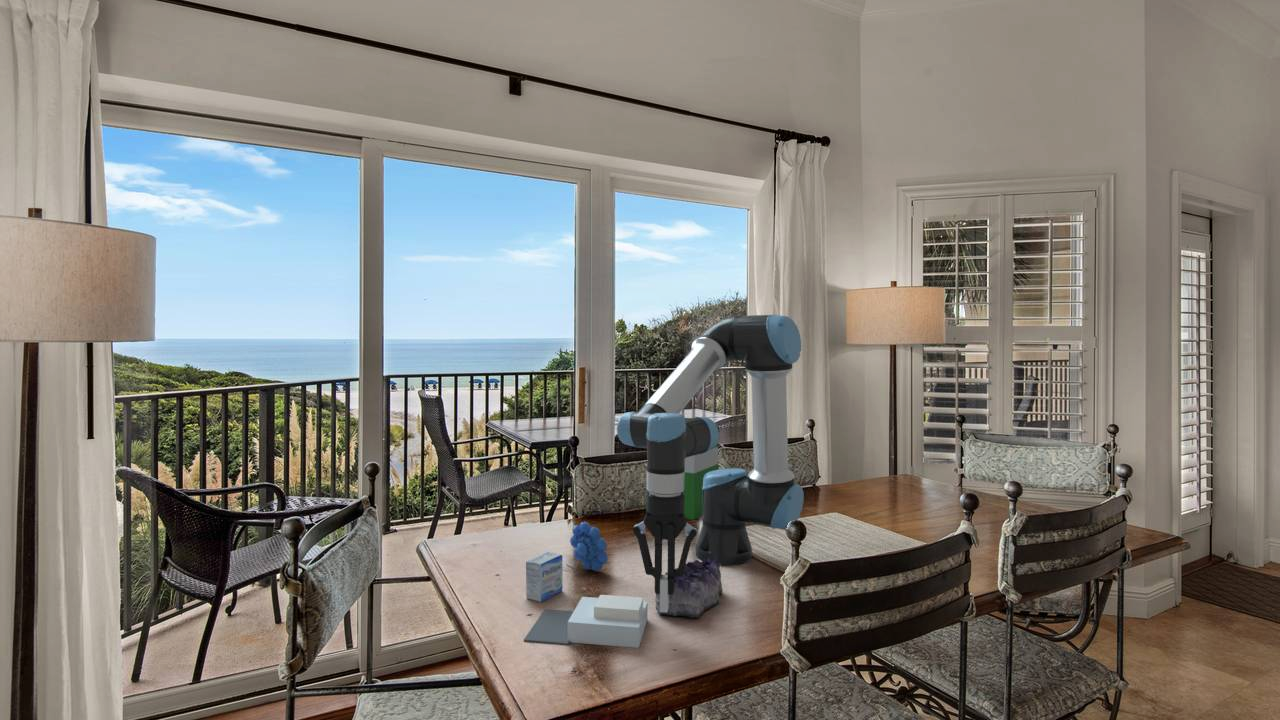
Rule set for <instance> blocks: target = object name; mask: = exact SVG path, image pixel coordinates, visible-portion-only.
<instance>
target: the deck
mask: <svg viewBox="0 0 1280 720" xmlns="http://www.w3.org/2000/svg"><path fill="white" fill-rule="evenodd" d="M598 598H599V597H591V596H581V598H580V600H579V601H578V603H577V605H576V607H575V609H574V610H573V611H574V612H573V614H572V615H571V617H570V619H569V620H568V641H570V643H573V644H584V645H585V644H587V645H598V646H610V647H612V646H613V647H623V648H634V649H639V648H640V645H641V642H642V639H643V635H644V633H645V628H646V626H647V622H648V608H649V607H648V605H649V604H648V600H647V601H646V600H643V609H642V612H641V615H640V618H639V620H628V619H615V618H602V617H594V606H595V604H596V602H597V600H598Z"/></svg>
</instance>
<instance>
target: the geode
mask: <svg viewBox="0 0 1280 720" xmlns="http://www.w3.org/2000/svg"><path fill="white" fill-rule="evenodd" d="M720 568H721V564H720V562H719V560H718V559H717V558H716V559H715V560H714V559H713V558H711V557H710V558H709V559H707V560H706V561H703V560H702V561H700V560H698V559H696V560H694V561H688V562H686V564H685V568H684V572H683V575H682V576H681V577H676V578H675V579H674V593H673V595H669V608H668V612H667V613H665V612H660V594H656V593H655V599H654V601H655V607H654V608H655V610H656V611H657V613H658V615H659V616H663V615H666V616H675V617H677V616H678V617H679V616H681V617H686V618H687V617H688V618H691V619H692V618H695V619H699V617H701V616H702V615H703V613H704V612H705V610H708V609H709V610H710V609H711V608H712V607H715V606H717V605H719V603H720V595H722V594H723V585H722V580H721V579H722V577H721V576H722V573H721V569H720ZM664 575H668V572H665V574H664Z"/></svg>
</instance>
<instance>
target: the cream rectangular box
mask: <svg viewBox="0 0 1280 720" xmlns="http://www.w3.org/2000/svg"><path fill="white" fill-rule="evenodd" d="M597 598H598V600H597V602H596V604H595V606H594V617H602V618H615V619H628V620H639V618H640V615H641V612H642V609H643V601H644V597H639V596H627V595H626V596H624V595H611V594H610V595H608V594H600V595H599V596H598V597H597Z"/></svg>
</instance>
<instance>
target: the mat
mask: <svg viewBox="0 0 1280 720" xmlns="http://www.w3.org/2000/svg"><path fill="white" fill-rule="evenodd" d="M573 612H574V610H563V609H550V608H544V609H543V611H542V612H541V614H540V615H539V617H538V619H536V621H535V623H534V624H533V626H532V627H531V628H530V630H529V631H528V633H527V634H526V636H525V637H524V639H523V642H527V643H528V642H529V643H541V644H551V645H552V644H553V645H554V644H555V645H567V646H569V645H570V643H571V642H570V641H568V620H569V619H570V617H571V615H572V614H573Z"/></svg>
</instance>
